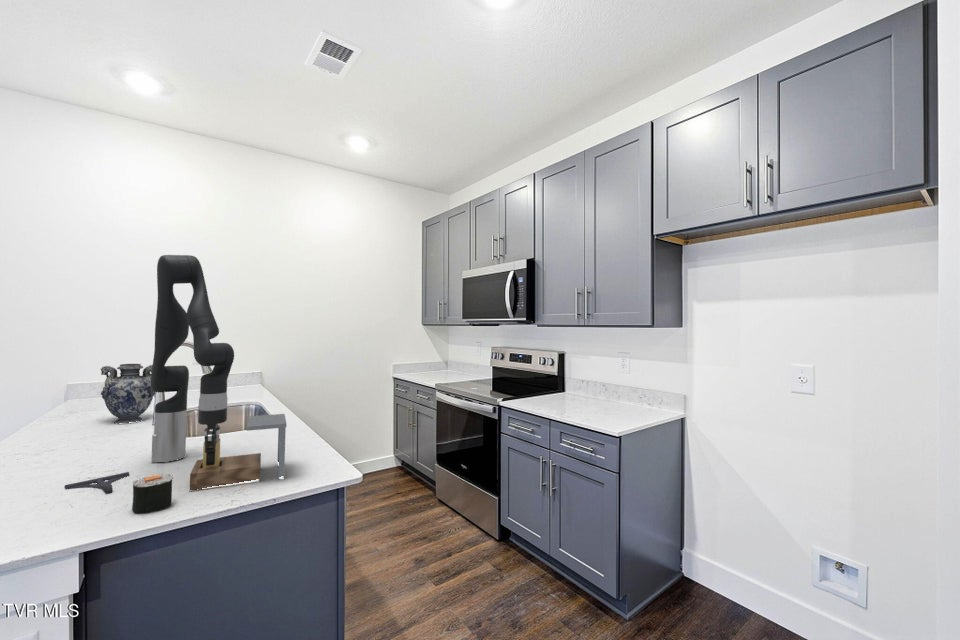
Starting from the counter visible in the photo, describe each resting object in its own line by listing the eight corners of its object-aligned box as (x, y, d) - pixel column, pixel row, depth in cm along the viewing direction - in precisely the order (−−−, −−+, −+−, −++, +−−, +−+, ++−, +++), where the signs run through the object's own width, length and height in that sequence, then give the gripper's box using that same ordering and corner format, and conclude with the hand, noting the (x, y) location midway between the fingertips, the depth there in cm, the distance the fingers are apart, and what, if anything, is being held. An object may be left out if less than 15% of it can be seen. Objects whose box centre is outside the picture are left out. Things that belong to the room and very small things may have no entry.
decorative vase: (155, 415, 215) (157, 361, 215) (157, 422, 200) (158, 365, 200) (100, 420, 201) (101, 363, 201) (97, 429, 187) (99, 367, 187)
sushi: (175, 506, 110) (176, 476, 110) (134, 516, 103) (136, 484, 103) (168, 497, 115) (169, 469, 115) (129, 507, 109) (130, 476, 109)
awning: (244, 485, 125) (246, 426, 125) (247, 468, 139) (248, 416, 140) (284, 479, 130) (286, 423, 130) (283, 464, 144) (284, 413, 145)
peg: (218, 474, 127) (219, 441, 127) (202, 476, 125) (203, 442, 125) (219, 470, 130) (220, 438, 131) (204, 471, 129) (205, 439, 129)
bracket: (74, 504, 111) (74, 493, 111) (64, 490, 120) (64, 480, 120) (141, 488, 122) (141, 479, 123) (127, 477, 132) (128, 468, 132)
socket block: (189, 491, 119) (190, 474, 120) (196, 475, 132) (197, 459, 132) (259, 481, 128) (260, 465, 128) (260, 467, 140) (260, 453, 140)
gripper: (225, 410, 124) (223, 468, 123) (229, 402, 136) (227, 454, 136) (195, 412, 120) (193, 471, 120) (201, 404, 133) (200, 457, 132)
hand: (211, 462), depth 128 cm, fingers closed on peg, 3 cm apart
